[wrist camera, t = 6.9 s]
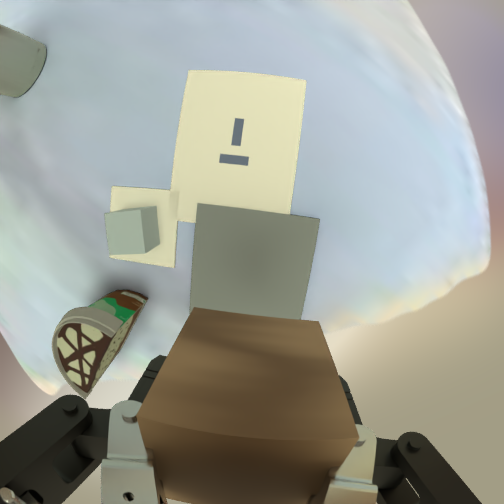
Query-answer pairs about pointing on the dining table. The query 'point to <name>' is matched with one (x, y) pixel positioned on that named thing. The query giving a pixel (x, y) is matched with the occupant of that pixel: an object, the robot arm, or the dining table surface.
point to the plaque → (167, 228)
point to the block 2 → (246, 411)
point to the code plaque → (236, 142)
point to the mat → (251, 261)
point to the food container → (94, 337)
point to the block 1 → (132, 230)
